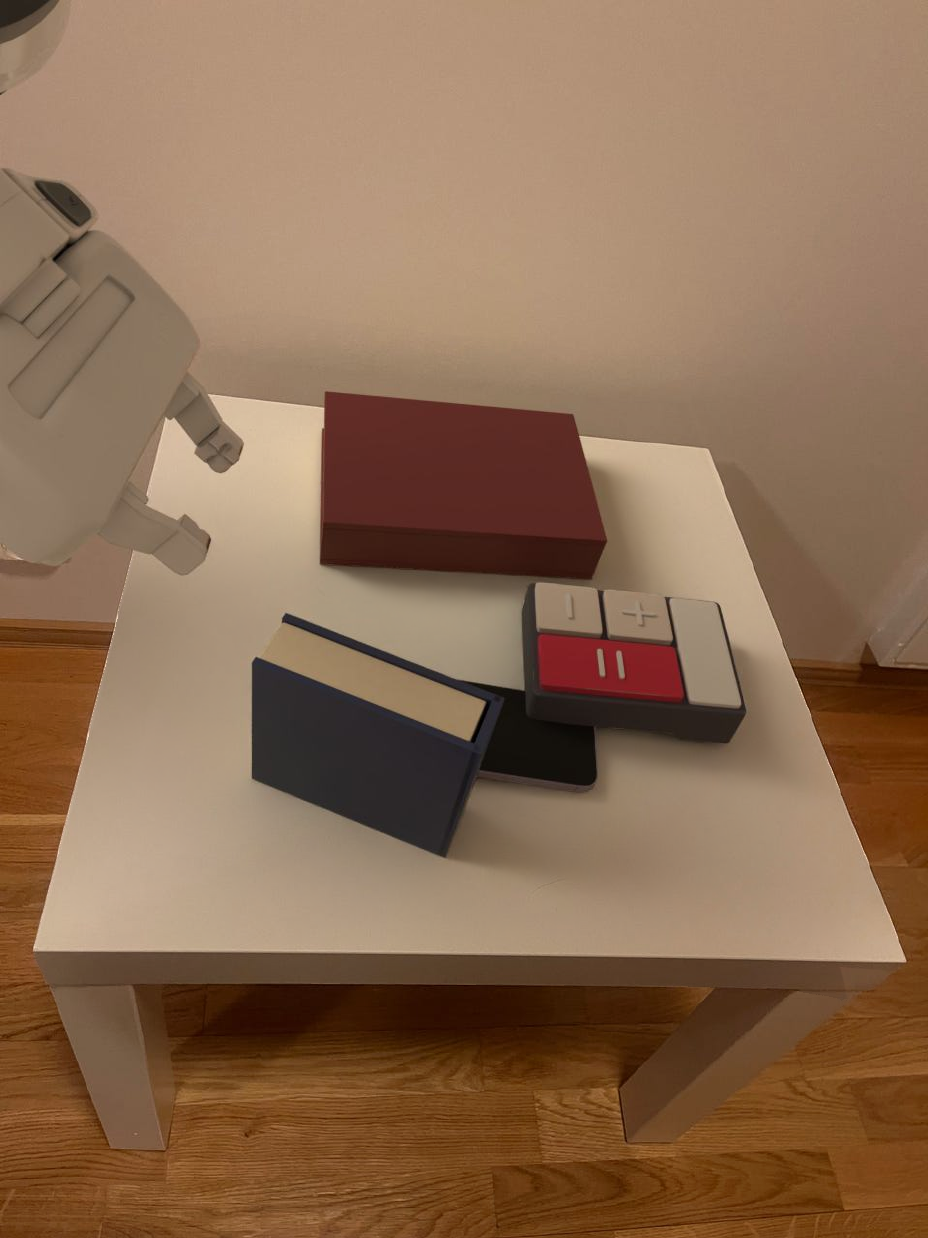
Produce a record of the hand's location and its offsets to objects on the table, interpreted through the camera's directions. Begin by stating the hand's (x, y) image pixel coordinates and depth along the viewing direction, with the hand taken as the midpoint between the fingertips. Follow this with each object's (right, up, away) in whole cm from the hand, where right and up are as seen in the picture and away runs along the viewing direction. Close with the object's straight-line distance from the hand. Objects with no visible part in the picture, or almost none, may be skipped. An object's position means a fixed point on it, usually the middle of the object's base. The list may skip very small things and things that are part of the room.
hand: (218, 505), depth 44 cm
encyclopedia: (+11, +4, +33) cm, 35 cm away
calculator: (+24, -10, +24) cm, 35 cm away
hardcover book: (+5, -16, +14) cm, 22 cm away
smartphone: (+14, -14, +18) cm, 27 cm away
